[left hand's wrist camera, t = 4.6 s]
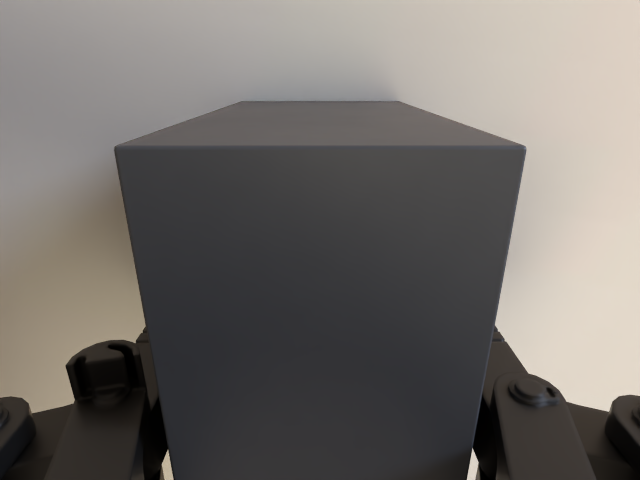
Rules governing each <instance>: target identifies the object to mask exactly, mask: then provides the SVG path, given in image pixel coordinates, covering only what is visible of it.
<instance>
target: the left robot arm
mask: <svg viewBox="0 0 640 480" xmlns="http://www.w3.org/2000/svg"><path fill="white" fill-rule="evenodd" d="M66 369H67V373H68V376H69V380H70V384H71V387H72V391H73V394H74V398H75V401H74V404H70V405H67V406H64V407H59V408H55V409H50V410H46V411H41V412H37V413H31V410H30V407H29V404H28V403H27V402H26V401H25V400H24V399H22V398H17V397H4V398H0V480H164V475H163V469H162V462H163V460H164V457H165V455H166V452H167V450H168V445H167V439H166V434H165V428H164V423H163V417H162V412H161V406H160V401H159V395H158V390H157V384H156V378H155V373H154V367H153V362H152V356H151V351H150V345H149V340H148V334H147V329H146V327H145V328H144V330H143V333H141V334H140V336H139V337H138V339H137V340H136V343H133V342H130V341H126V340H110V341H105V342H101V343H97V344H94V345H92V346H90V347H87V348H85V349H83V350H81V351H80V352H79V353H77V354H76V355H74V356H73V357H72V358H71V359H70V360H69V362H68V363H67V364H66ZM473 450H474V452H475V455H476V457H477V459H478V462H479V464H478V469H477V474H476V480H640V396H635V395H626V396H619V397H618V398H616V399H615V400H614V401H613V402H612V405H611V408H610V411H609V412H607V411H602V410H598V409H593V408H589V407H584V406H580V405H576V404H572V403H569V402H566V400H565V399H564V397H563V396H562V394H561V393H560V391H559V390H558V389H557V388H556V387H554V386H553V385H552V384H551V383H549V382H548V381H546V380H544V379H542V378H540V377H537V376H535V375H531V374H528V372H527V371H526V370H525V368H524V367H523V365H522V364H521V362H520V361H519V359H518V358H517V357H516V355H515V354H514V352H513V351H512V349H511V348H510V346H509V345H508V344H507V342H505V341H504V338H503V336H502V335H501V333H500V332H498V329H497V328H496V326H494V331H493V337H492V342H491V348H490V353H489V359H488V364H487V370H486V375H485V381H484V386H483V392H482V398H481V403H480V409H479V414H478V420H477V425H476V431H475V436H474V442H473Z"/></svg>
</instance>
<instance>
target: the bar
mask: <svg viewBox="0 0 640 480" xmlns="http://www.w3.org/2000/svg"><path fill="white" fill-rule="evenodd" d="M114 152H115V157H116V163H117V168H118V174H119V179H120V185H121V190H122V196H123V201H124V207H125V212H126V218H127V224H128V229H129V235H130V240H131V246H132V251H133V257H134V262H135V268H136V273H137V279H138V284H139V290H140V295H141V301H142V307H143V312H144V318H145V323H146V329H147V334H148V340H149V345H150V351H151V356H152V362H153V367H154V373H155V378H156V384H157V390H158V395H159V401H160V406H161V412H162V417H163V423H164V428H165V434H166V439H167V445H168V450H169V456H170V461H171V467H172V473H173V478H174V480H467V475H468V469H469V464H470V458H471V453H472V447H473V442H474V436H475V431H476V425H477V420H478V414H479V409H480V403H481V398H482V392H483V386H484V381H485V375H486V370H487V364H488V359H489V353H490V348H491V342H492V337H493V331H494V326H495V320H496V315H497V309H498V304H499V298H500V293H501V287H502V282H503V276H504V271H505V265H506V260H507V254H508V249H509V243H510V238H511V232H512V227H513V221H514V215H515V210H516V204H517V199H518V193H519V188H520V182H521V177H522V171H523V166H524V160H525V155H526V147H525V146H523V145H521V144H518V143H515V142H512V141H509V140H507V139H504V138H501V137H498V136H495V135H492V134H490V133H487V132H484V131H481V130H478V129H475V128H473V127H470V126H467V125H464V124H461V123H458V122H456V121H453V120H450V119H447V118H444V117H441V116H439V115H436V114H433V113H430V112H427V111H424V110H422V109H419V108H416V107H413V106H410V105H407V104H405V103H402V102H399V101H241V102H239V103H236V104H233V105H230V106H227V107H224V108H222V109H219V110H216V111H213V112H210V113H208V114H205V115H202V116H199V117H196V118H193V119H191V120H188V121H185V122H182V123H179V124H176V125H174V126H171V127H168V128H165V129H162V130H159V131H157V132H154V133H151V134H148V135H145V136H142V137H140V138H137V139H134V140H131V141H128V142H125V143H123V144H120V145H117V146H115V148H114Z"/></svg>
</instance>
